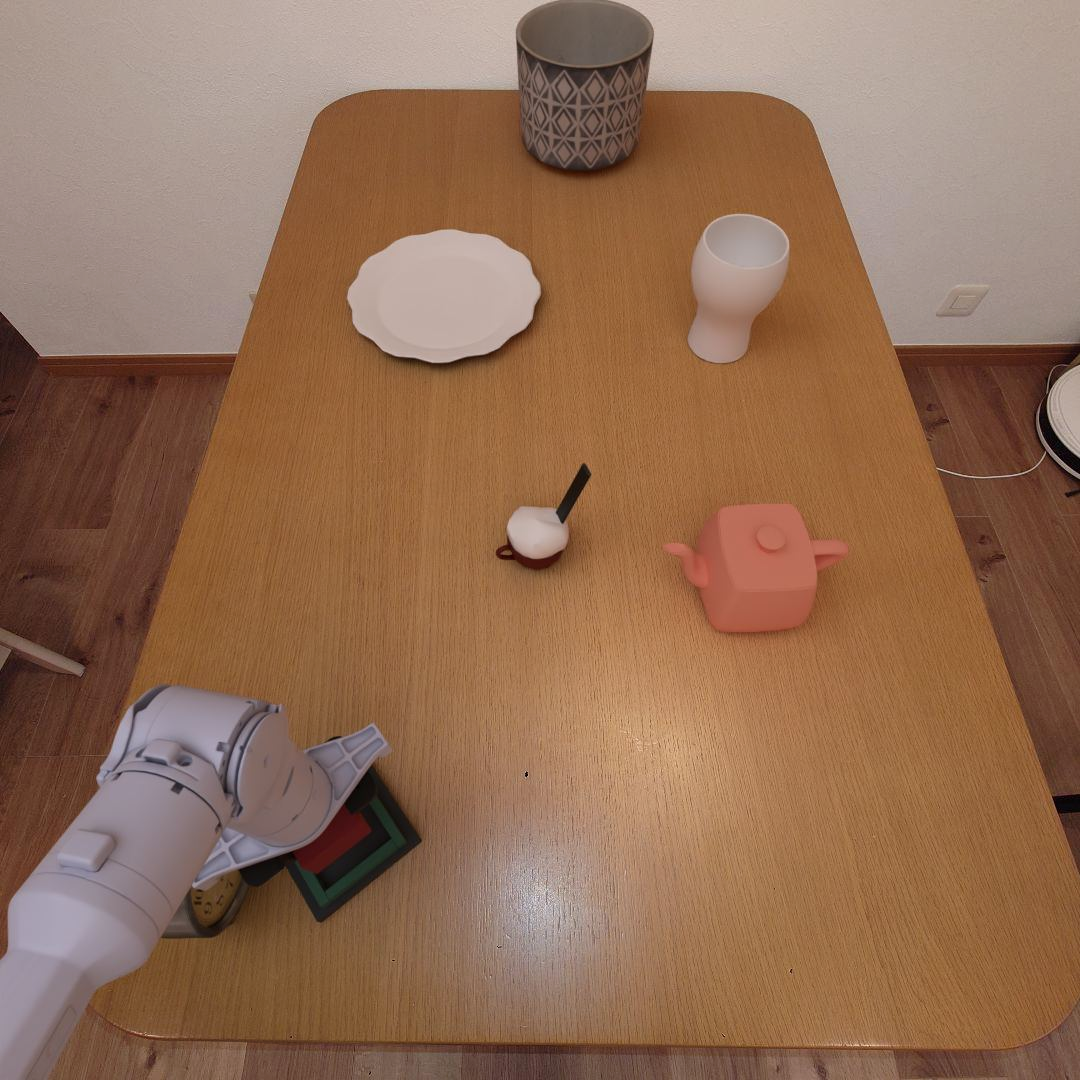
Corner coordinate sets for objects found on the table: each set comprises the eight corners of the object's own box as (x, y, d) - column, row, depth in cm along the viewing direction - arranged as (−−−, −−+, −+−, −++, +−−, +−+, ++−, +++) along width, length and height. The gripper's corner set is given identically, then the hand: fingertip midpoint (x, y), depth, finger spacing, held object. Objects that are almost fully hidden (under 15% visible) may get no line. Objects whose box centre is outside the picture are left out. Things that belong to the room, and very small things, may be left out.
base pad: (321, 923, 59) (312, 921, 56) (269, 831, 62) (258, 826, 60) (422, 841, 62) (418, 836, 59) (367, 758, 65) (361, 751, 63)
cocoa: (497, 579, 75) (490, 517, 64) (497, 527, 78) (490, 461, 67) (588, 576, 75) (595, 514, 64) (584, 525, 78) (590, 458, 68)
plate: (369, 390, 88) (365, 379, 86) (338, 260, 100) (335, 248, 98) (563, 347, 91) (563, 336, 90) (511, 227, 104) (510, 215, 102)
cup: (663, 355, 91) (683, 254, 78) (693, 303, 95) (717, 200, 82) (743, 383, 88) (778, 284, 75) (770, 328, 93) (807, 226, 80)
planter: (652, 124, 117) (667, 8, 103) (622, 193, 107) (635, 76, 93) (540, 104, 120) (540, -11, 106) (502, 170, 111) (496, 53, 96)
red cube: (316, 874, 55) (301, 869, 52) (285, 820, 57) (269, 812, 54) (372, 831, 57) (361, 823, 53) (340, 780, 59) (327, 769, 55)
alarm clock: (247, 939, 58) (153, 934, 44) (180, 941, 58) (65, 935, 44) (270, 798, 64) (193, 753, 50) (209, 799, 63) (115, 755, 49)
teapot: (836, 634, 71) (879, 588, 62) (657, 644, 71) (673, 598, 62) (808, 536, 77) (843, 480, 68) (642, 544, 77) (655, 489, 68)
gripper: (336, 667, 48) (376, 725, 59) (126, 811, 43) (215, 842, 55) (393, 751, 45) (424, 794, 57) (176, 913, 40) (258, 923, 52)
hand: (324, 822), depth 56 cm, fingers closed on red cube, 5 cm apart
